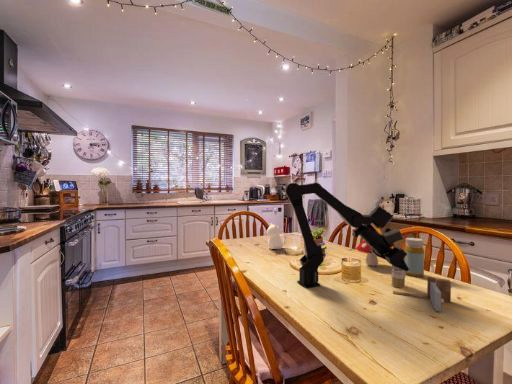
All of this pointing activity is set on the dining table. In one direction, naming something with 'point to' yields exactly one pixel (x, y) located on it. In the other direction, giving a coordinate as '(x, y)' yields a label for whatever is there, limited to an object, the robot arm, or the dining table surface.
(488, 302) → the dining table surface
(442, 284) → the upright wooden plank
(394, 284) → the sprinkles bottle
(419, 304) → the dining table surface
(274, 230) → the cat figurine
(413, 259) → the bottle
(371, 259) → the decorative mushroom
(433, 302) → the door
